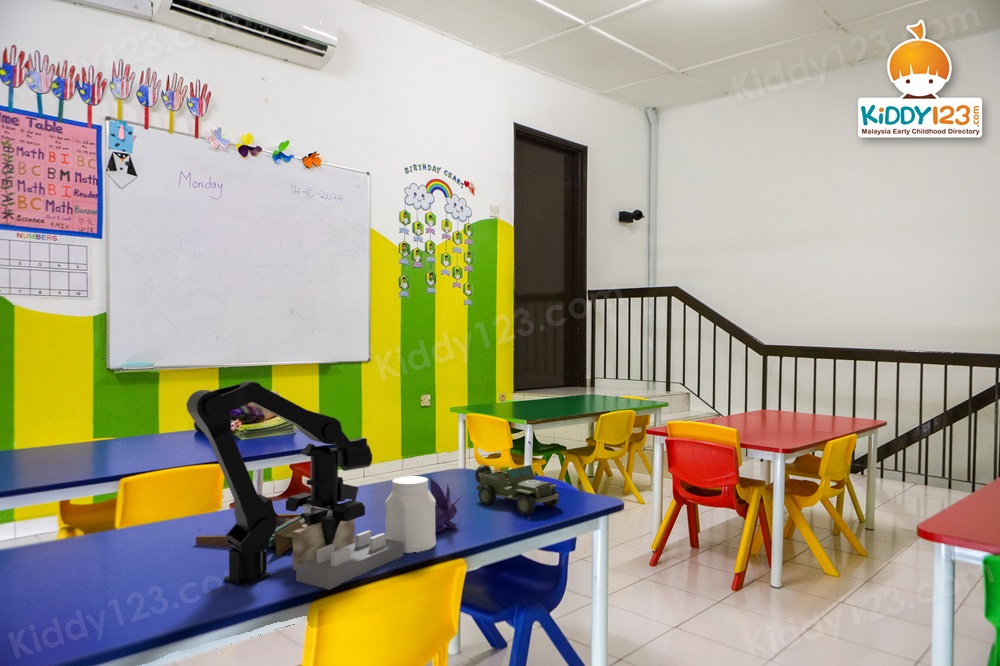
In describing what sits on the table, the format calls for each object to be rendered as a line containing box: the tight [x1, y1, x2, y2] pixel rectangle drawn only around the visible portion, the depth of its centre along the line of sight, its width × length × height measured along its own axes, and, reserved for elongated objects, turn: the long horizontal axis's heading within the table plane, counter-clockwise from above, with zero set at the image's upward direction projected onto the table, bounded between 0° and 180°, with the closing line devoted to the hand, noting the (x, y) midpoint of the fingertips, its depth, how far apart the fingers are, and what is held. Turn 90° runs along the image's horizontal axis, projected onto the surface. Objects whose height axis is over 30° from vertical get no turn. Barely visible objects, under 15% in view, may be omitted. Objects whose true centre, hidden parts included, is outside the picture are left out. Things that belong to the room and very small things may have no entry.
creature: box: [429, 476, 464, 534], centre depth 164 cm, size 9×18×12 cm, turn 135°
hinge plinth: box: [295, 529, 404, 591], centre depth 138 cm, size 22×9×6 cm, turn 149°
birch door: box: [292, 518, 356, 572], centre depth 143 cm, size 16×2×9 cm, turn 148°
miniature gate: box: [195, 506, 330, 557], centre depth 160 cm, size 27×6×30 cm
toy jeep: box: [474, 464, 560, 516], centre depth 188 cm, size 12×25×11 cm, turn 46°
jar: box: [384, 475, 437, 554], centre depth 152 cm, size 12×10×15 cm
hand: (325, 546), depth 143 cm, fingers closed on birch door, 2 cm apart
